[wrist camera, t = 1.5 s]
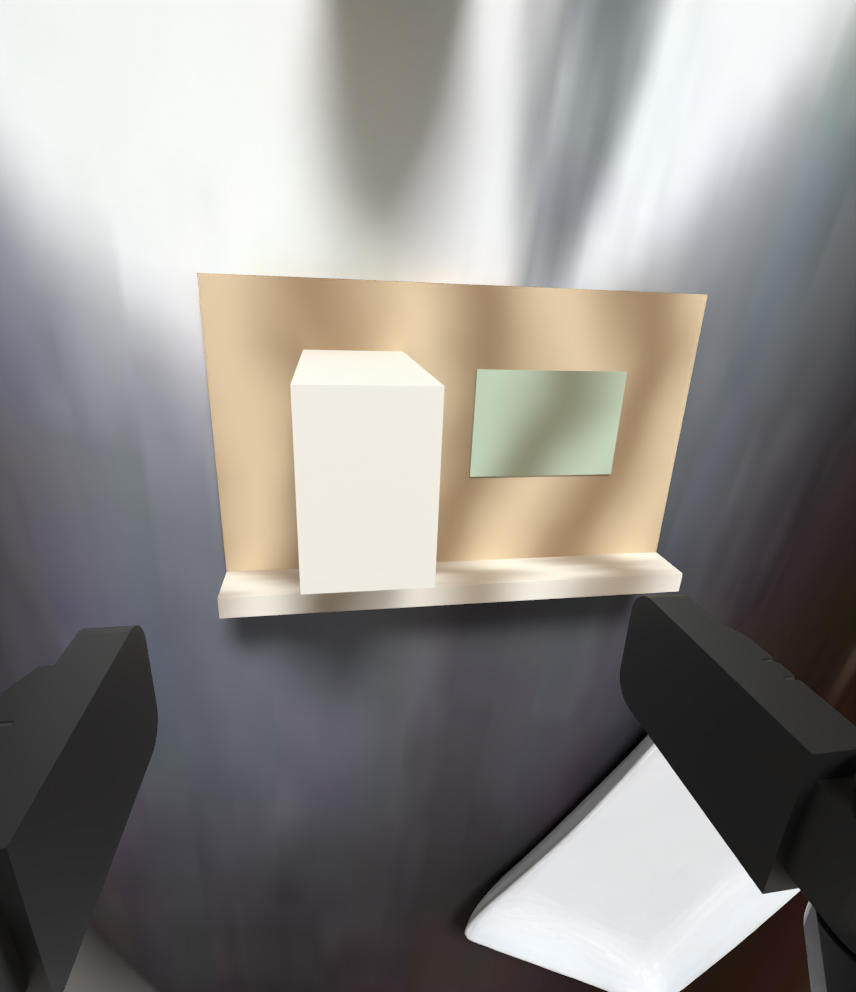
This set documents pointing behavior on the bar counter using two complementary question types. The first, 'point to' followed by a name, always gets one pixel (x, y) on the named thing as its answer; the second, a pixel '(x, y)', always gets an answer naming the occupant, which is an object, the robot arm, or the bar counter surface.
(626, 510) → the shelf board
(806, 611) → the bar counter surface
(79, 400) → the bar counter surface
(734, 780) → the robot arm
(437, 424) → the carton
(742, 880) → the salad plate
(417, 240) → the bar counter surface
